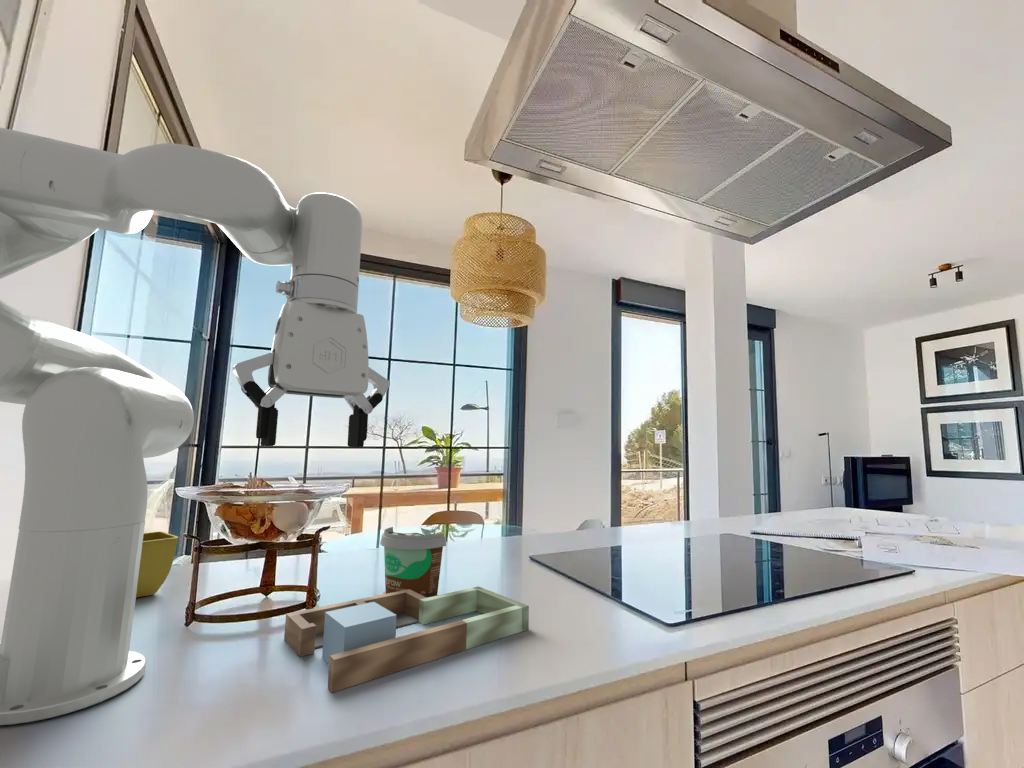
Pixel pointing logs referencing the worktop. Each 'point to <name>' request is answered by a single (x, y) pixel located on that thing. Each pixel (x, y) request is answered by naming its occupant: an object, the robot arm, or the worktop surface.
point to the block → (356, 628)
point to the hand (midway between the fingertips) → (314, 446)
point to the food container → (412, 561)
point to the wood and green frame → (417, 647)
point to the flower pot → (155, 561)
